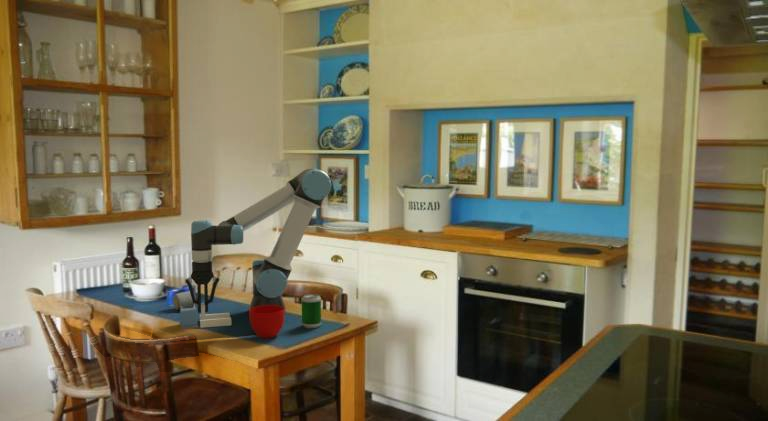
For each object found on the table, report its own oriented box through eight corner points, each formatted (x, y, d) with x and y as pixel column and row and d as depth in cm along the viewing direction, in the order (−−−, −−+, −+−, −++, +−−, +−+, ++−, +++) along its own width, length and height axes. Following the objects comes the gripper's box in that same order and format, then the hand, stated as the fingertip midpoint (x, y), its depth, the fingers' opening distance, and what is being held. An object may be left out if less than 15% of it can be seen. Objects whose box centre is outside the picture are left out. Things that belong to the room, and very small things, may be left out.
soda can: (324, 327, 245) (324, 296, 244) (306, 329, 242) (306, 298, 241) (316, 322, 252) (316, 292, 251) (299, 325, 248) (298, 295, 247)
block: (197, 322, 248) (196, 307, 248) (197, 326, 243) (197, 311, 242) (181, 324, 246) (180, 308, 246) (181, 327, 241) (180, 312, 240)
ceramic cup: (265, 326, 246) (264, 301, 245) (292, 335, 234) (291, 308, 233) (236, 333, 237) (235, 307, 236) (263, 343, 225) (262, 315, 224)
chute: (229, 321, 254) (229, 312, 253) (231, 327, 245) (231, 318, 244) (181, 325, 248) (181, 316, 248) (181, 331, 239) (180, 322, 239)
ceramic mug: (172, 308, 274) (171, 291, 274) (190, 306, 279) (190, 288, 279) (180, 314, 266) (180, 296, 265) (199, 311, 271) (199, 293, 270)
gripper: (218, 258, 249) (219, 317, 251) (184, 259, 246) (185, 319, 248) (219, 261, 242) (221, 321, 244) (184, 263, 238) (185, 324, 240)
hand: (203, 320), depth 246 cm, fingers closed
